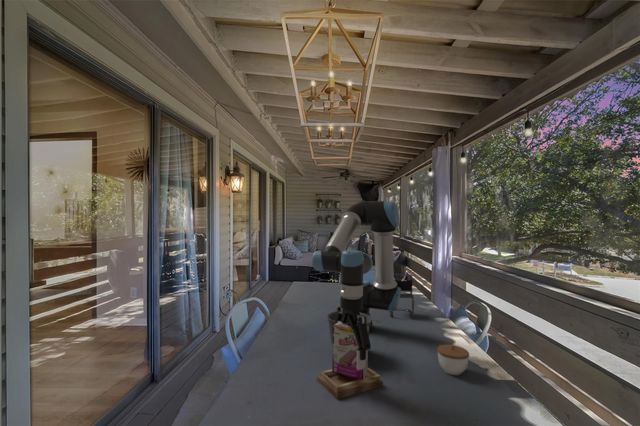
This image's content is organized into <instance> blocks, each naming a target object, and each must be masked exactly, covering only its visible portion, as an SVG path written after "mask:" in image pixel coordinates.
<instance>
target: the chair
mask: <svg viewBox="0 0 640 426" xmlns="http://www.w3.org/2000/svg"><path fill="white" fill-rule="evenodd" d="M394 276H402V277H410V278H409V279H410V280H397V279H394V280H395V281H396V282H397V287H400V288H401V292H409V293H401V294H400V299H411V302H412V303H411V309H409V308H401V307H400V308H399V307H398V308H397V310H396V311H405V312H409V313H410V317H411V319H414V316H415V298H414V295H413V275H412V274H406V273H394ZM389 316H390V317H393V311H389Z"/></svg>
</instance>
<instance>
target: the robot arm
mask: <svg viewBox="0 0 640 426" xmlns="http://www.w3.org/2000/svg"><path fill="white" fill-rule="evenodd" d="M399 212H400V211H399V208H398V205H397V204H396V202H394V201H387V200H373V201H372V200H370V201H369V200H367V201H366V200H363V201H359V202H355V204H352V205H351V206H349V207H348V208H347V209H346V210H345V211H344V212H343V214H342V215H341V217H340V223H339V225H337V227H336V229H335V231H334V232H333V234H332V235H331V237H330V239H329V241H328V243H327V244H326V246H325V247H324V249H323V250H316V251H314V253H313V254H312V259H311V264H312V267H313V269H314V270H316V271H320V272H327V273H328V272H331V273H332V272H333V273H340V295H341V296H340V297H339V302H340V303H339V304H340V305H339V306H338V307H337V308H336V311H337V315H336V319H335V323H334V324H336V323H337V322H338V321H341V322H342V323H346V324H349V325H350V326H351V328H352V329H353V331H354V334H355V337H356V341H357V344H358V347H359V348H358V349H357V370H361V369H365V359H366V350H368V351H369V350H371V348H372V347H371V341H370V334H369V335H368V330H367V325H366V317H365V316H364V317H362V316H360V313H363V314H366V315H368V316H370V317H371V318H372V316H371V314H370V309H374V310H380V311H386V312H390V311H392V312H396V311H398V310H397V308H399V305H400V304H399V303H400V301H401V298H400V294H402V291H401V288H400V287H397V282H396V281H395V280H396V279H395V277H394V276H395V275H394V274H395V272H394V271H395V269H394V239H393V235H394V233H395V232H396V230H397V228H398V227H399V225H400V213H399ZM362 226H363V227H364V226H365V227H370V231H371V232H372V233H373V240H374V243H373V244H374V262H373V258H372V256H370V254H368V253H366V252H363V251H362V250H356V249H352V250H351V249H348V250H346V249H347V248H348V245H349V243H350V241H351V239H352V237H353V236H354V234H355V232H356V231H357V230H358V229H360V227H362ZM373 264H374V266H375V267H374V268H375V280H374V281H373V282H372V284H371V282H370V280H365V279H364V274H367V273H369V272H370V271H371V269H372V268H373ZM356 324H358V325H356ZM373 325H374V323H373V319H372V320H371V323H370V329H369V332H370V331H372V330H373V329H374V328H373ZM333 330H334V327H333ZM361 345H362V346H361Z"/></svg>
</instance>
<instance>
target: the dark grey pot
mask: <svg viewBox="0 0 640 426" xmlns="http://www.w3.org/2000/svg"><path fill="white" fill-rule="evenodd" d="M336 315H337V310H336V311H333V312H329V313H328V314H327V315H326V316H327V321H328V327H329V334H330V335H329V336H330V342H331V345H332V347H333V327H334V323H335V319H336ZM360 316H362V317H364V316H365V317H366V325H367V326H368V327H369V329H370V323H371V320H372V321H373V319H372V316H371V315H370V316H371V317H370V316H368V315H366V314H363V313H360ZM357 325H358V324H357ZM368 335H369V336H370V331H369V330H368Z"/></svg>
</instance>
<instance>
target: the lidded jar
mask: <svg viewBox="0 0 640 426" xmlns="http://www.w3.org/2000/svg"><path fill="white" fill-rule="evenodd" d="M469 357H470V352H469V351H468V350H467V349H466V348H464V347H462V346H458V345H455V344H441V345H440V344H439V346H438V347H437V359H438V363H439V366H440V367H441V369H442V370H443V371H444V372H445V373H446V374H448V375H452V376H461V374H462V373H463V372H465V371H466V369H467V368H468V365H469Z"/></svg>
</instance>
